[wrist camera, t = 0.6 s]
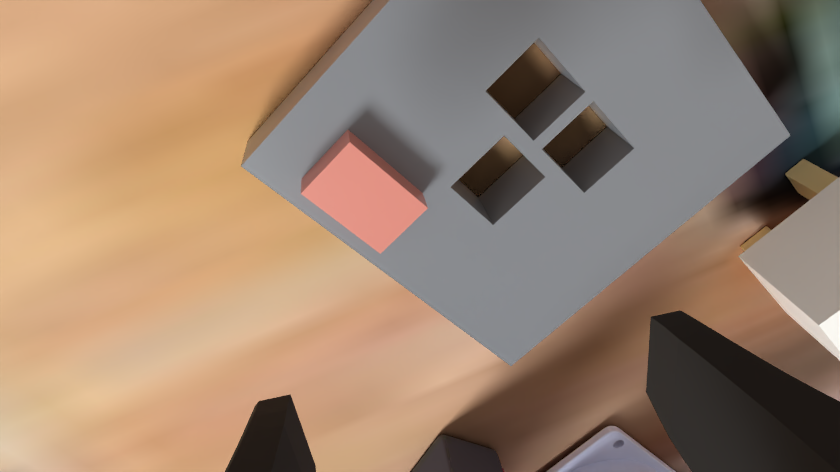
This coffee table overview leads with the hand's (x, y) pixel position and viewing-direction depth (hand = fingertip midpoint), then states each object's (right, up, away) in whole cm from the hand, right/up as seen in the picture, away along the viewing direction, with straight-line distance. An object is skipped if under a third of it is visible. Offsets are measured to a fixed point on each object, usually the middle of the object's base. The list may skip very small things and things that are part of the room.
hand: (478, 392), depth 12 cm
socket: (+2, +7, +8) cm, 10 cm away
